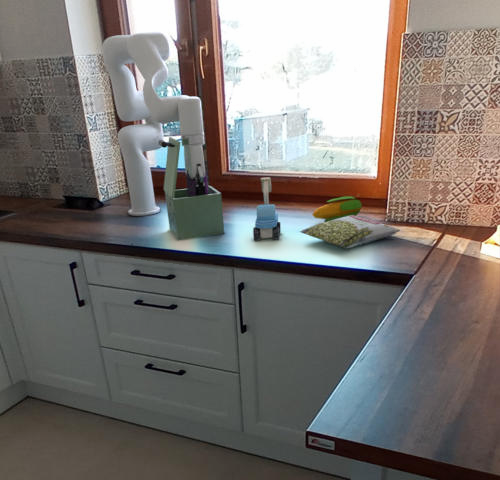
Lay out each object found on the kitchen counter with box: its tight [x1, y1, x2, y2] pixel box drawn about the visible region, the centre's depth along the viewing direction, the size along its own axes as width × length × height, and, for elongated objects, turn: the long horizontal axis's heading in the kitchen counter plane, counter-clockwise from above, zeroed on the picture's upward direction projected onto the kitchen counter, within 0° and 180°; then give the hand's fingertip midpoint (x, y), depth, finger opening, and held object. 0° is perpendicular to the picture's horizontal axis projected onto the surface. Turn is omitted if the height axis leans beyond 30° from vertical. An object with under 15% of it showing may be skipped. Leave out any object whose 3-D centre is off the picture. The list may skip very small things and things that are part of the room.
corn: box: [311, 196, 363, 223], centre depth 206 cm, size 7×8×20 cm
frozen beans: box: [299, 215, 401, 250], centre depth 185 cm, size 21×6×25 cm
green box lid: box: [158, 136, 182, 198], centre depth 191 cm, size 17×14×5 cm
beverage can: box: [185, 170, 209, 197], centre depth 198 cm, size 7×7×12 cm
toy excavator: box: [252, 177, 282, 241], centre depth 192 cm, size 9×17×17 cm, turn 174°
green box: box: [164, 185, 225, 241], centre depth 201 cm, size 16×14×13 cm
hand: (198, 196), depth 199 cm, fingers closed on beverage can, 6 cm apart
